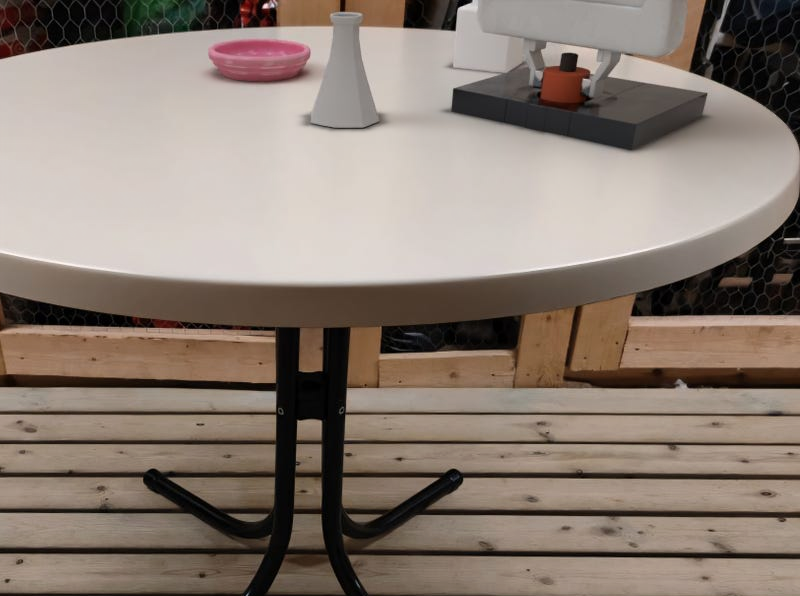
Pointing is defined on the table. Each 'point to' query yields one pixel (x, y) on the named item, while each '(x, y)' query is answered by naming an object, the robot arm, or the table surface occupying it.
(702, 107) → the drain plate
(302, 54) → the pink shallow round dish
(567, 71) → the stopper
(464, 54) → the medicine bottle
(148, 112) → the table surface
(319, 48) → the table surface
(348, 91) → the flask
